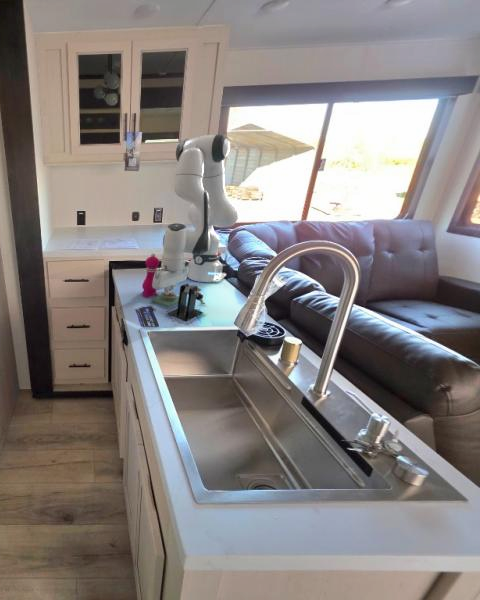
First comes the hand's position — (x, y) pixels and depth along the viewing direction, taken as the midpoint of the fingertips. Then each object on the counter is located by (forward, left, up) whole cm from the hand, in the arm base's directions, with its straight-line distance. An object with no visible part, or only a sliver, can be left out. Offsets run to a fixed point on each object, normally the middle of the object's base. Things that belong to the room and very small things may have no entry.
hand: (168, 294), depth 137 cm
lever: (+1, +12, +3) cm, 13 cm away
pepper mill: (-1, -11, -4) cm, 12 cm away
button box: (0, 0, -4) cm, 4 cm away
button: (0, 0, -2) cm, 2 cm away
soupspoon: (-17, +4, -4) cm, 18 cm away
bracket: (+5, +12, -4) cm, 14 cm away
